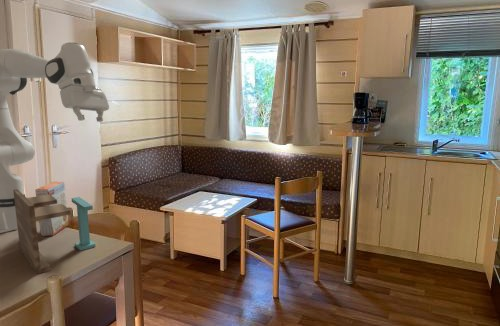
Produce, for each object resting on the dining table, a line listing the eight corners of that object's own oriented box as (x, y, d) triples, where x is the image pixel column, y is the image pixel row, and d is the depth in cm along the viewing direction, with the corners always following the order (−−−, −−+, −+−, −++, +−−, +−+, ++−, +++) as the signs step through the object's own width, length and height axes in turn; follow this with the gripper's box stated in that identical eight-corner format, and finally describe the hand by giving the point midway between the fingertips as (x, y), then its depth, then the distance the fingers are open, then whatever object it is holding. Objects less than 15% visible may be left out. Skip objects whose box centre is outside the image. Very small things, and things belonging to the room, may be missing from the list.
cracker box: (56, 225, 180) (52, 181, 176) (69, 225, 179) (65, 181, 176) (39, 236, 166) (34, 188, 162) (53, 236, 166) (48, 189, 162)
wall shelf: (54, 241, 160) (48, 184, 156) (75, 263, 139) (69, 199, 135) (20, 248, 153) (13, 189, 148) (36, 274, 131) (29, 206, 127)
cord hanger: (86, 238, 163) (82, 196, 160) (99, 250, 151) (96, 204, 148) (71, 242, 159) (67, 198, 156) (83, 254, 147) (80, 207, 144)
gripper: (95, 91, 155) (104, 124, 154) (54, 84, 136) (63, 122, 135) (108, 86, 153) (116, 119, 152) (67, 78, 134) (77, 116, 133)
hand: (91, 120), depth 143 cm, fingers open, 8 cm apart
